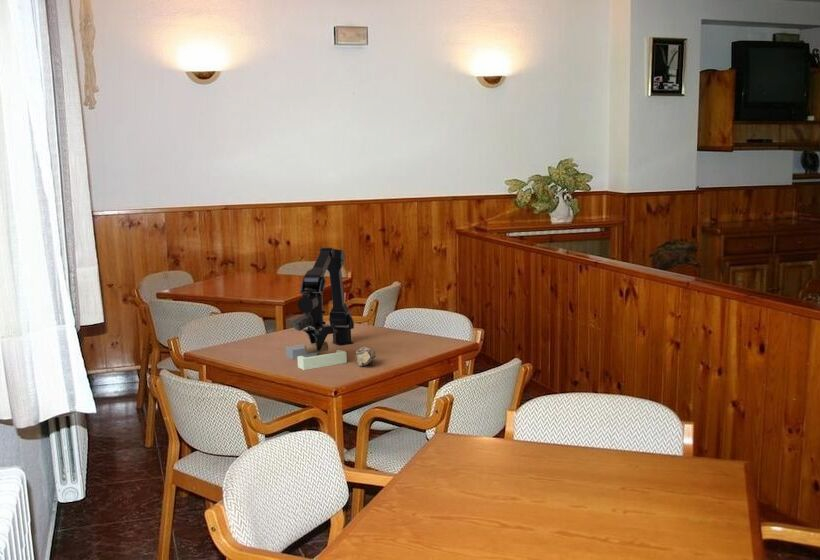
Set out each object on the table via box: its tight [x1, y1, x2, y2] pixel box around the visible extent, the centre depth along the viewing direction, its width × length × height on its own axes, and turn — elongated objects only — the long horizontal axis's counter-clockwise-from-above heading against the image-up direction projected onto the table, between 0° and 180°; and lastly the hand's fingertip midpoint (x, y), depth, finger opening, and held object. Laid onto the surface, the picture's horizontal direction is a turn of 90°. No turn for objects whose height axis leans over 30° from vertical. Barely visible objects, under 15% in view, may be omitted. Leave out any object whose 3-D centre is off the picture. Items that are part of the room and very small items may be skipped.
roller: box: [304, 340, 329, 354], centre depth 306 cm, size 8×4×4 cm, turn 123°
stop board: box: [296, 349, 348, 371], centre depth 303 cm, size 17×5×4 cm, turn 123°
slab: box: [285, 342, 318, 361], centre depth 317 cm, size 10×7×4 cm
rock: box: [355, 345, 377, 367], centre depth 302 cm, size 7×11×10 cm
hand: (316, 349), depth 306 cm, fingers closed on roller, 3 cm apart
